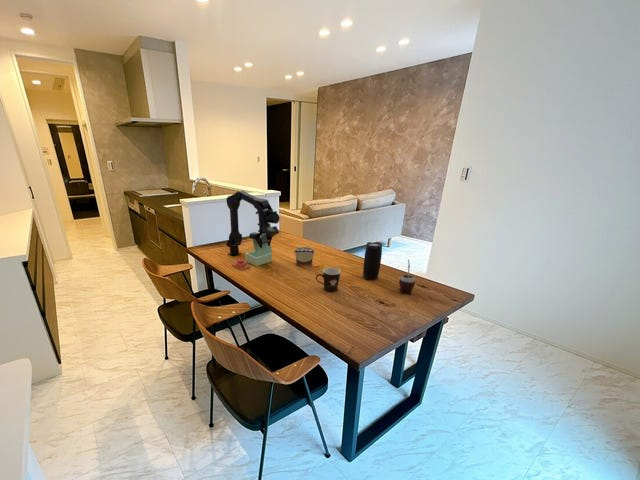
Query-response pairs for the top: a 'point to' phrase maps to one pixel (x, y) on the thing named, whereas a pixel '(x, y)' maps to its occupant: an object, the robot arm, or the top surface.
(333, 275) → the coffee mug
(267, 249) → the machine lid
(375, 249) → the portable speaker
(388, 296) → the top surface
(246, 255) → the machine
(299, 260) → the food container
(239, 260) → the button
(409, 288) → the mate gourd
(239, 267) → the button block
